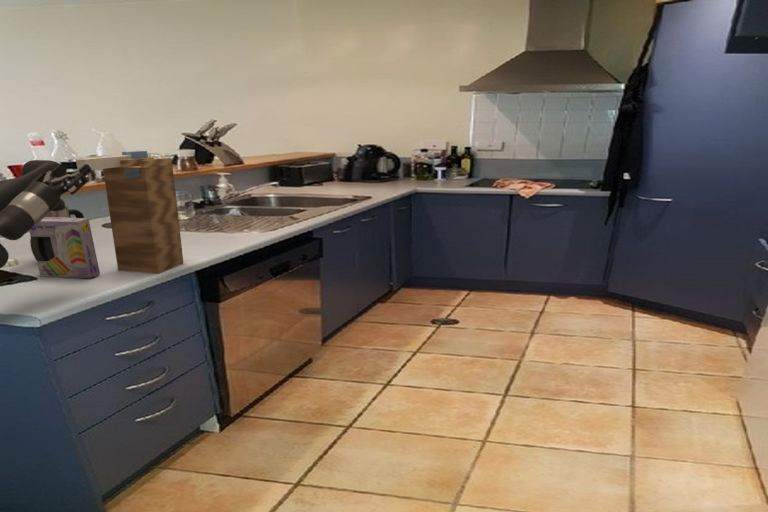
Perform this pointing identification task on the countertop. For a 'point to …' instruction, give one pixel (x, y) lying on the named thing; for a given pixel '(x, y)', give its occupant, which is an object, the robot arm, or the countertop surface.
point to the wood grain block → (144, 215)
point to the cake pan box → (64, 247)
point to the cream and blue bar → (110, 160)
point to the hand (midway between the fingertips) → (76, 166)
